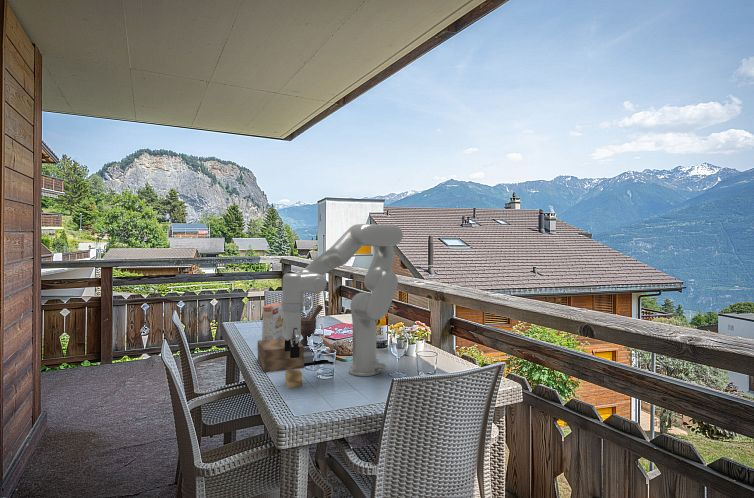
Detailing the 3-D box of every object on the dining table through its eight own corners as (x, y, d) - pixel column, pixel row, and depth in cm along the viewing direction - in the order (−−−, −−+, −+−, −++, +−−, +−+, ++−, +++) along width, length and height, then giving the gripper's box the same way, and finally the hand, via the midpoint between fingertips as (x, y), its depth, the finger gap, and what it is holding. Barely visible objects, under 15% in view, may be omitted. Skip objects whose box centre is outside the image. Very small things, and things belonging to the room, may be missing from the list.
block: (298, 382, 160) (298, 368, 160) (302, 386, 155) (302, 372, 155) (285, 383, 158) (285, 370, 158) (288, 388, 153) (288, 374, 153)
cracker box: (273, 350, 204) (273, 306, 203) (261, 350, 205) (261, 306, 205) (285, 343, 218) (285, 302, 217) (274, 343, 219) (274, 302, 218)
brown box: (294, 356, 194) (294, 337, 194) (303, 367, 177) (303, 346, 177) (257, 360, 187) (257, 340, 187) (264, 372, 171) (264, 350, 171)
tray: (321, 352, 199) (321, 335, 199) (333, 362, 182) (333, 344, 182) (286, 356, 192) (286, 338, 192) (295, 367, 176) (295, 347, 176)
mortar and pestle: (319, 340, 223) (318, 302, 223) (324, 344, 215) (324, 305, 215) (297, 343, 218) (297, 304, 218) (301, 347, 210) (301, 306, 210)
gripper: (277, 304, 162) (276, 349, 162) (287, 311, 146) (286, 361, 146) (297, 303, 165) (296, 348, 165) (309, 310, 149) (307, 359, 149)
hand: (291, 354), depth 156 cm, fingers open, 9 cm apart
